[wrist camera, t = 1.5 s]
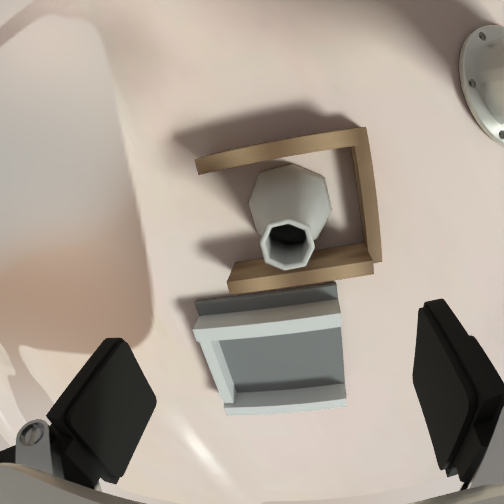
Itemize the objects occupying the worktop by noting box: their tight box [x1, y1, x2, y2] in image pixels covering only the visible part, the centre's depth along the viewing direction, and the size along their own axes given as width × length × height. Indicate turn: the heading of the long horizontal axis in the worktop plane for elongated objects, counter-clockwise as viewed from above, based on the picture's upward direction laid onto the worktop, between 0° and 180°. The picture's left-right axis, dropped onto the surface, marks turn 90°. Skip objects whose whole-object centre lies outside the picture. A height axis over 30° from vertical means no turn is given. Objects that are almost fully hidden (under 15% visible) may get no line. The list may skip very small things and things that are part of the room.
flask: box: [248, 164, 332, 270], centre depth 23 cm, size 7×7×10 cm
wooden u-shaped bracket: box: [195, 127, 382, 295], centre depth 25 cm, size 13×11×4 cm
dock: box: [192, 282, 347, 415], centre depth 32 cm, size 14×16×3 cm
